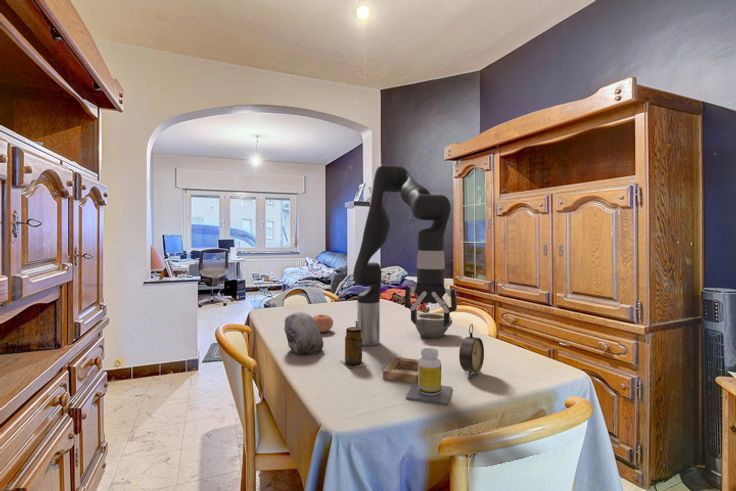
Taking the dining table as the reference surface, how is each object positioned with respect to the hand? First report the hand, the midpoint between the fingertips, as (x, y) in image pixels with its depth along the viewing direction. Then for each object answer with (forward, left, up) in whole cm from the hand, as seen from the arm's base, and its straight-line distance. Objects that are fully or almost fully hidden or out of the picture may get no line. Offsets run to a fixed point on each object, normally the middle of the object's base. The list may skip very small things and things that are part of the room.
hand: (430, 324), depth 102 cm
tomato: (-58, +50, -20) cm, 79 cm away
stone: (-52, +22, -20) cm, 60 cm away
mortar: (-9, +60, -20) cm, 64 cm away
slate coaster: (0, 0, -20) cm, 20 cm away
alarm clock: (+10, +19, -20) cm, 29 cm away
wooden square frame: (-9, +13, -20) cm, 25 cm away
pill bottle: (0, 0, -19) cm, 19 cm away
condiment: (-29, +16, -20) cm, 39 cm away
